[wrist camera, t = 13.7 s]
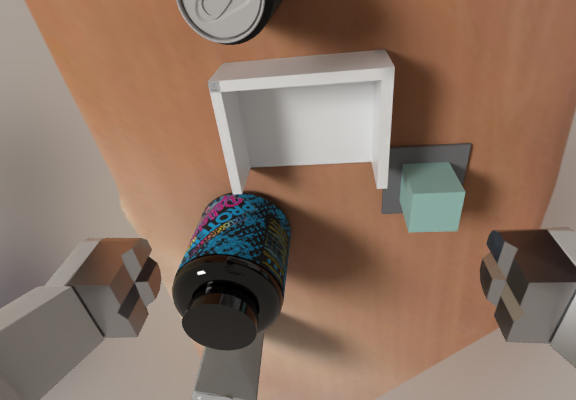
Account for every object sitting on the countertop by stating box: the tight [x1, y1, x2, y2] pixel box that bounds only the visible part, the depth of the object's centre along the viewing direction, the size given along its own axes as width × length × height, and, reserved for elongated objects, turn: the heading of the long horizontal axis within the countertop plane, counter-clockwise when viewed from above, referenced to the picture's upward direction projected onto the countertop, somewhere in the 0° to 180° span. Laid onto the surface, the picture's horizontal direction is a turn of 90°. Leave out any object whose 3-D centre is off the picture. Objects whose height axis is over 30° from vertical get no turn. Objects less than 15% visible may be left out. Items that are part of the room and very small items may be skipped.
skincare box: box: [191, 331, 264, 400], centre depth 54 cm, size 8×7×16 cm
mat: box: [382, 143, 471, 214], centre depth 43 cm, size 9×9×1 cm
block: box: [400, 162, 465, 232], centre depth 40 cm, size 5×5×6 cm
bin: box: [208, 49, 395, 195], centre depth 37 cm, size 12×16×6 cm
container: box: [172, 192, 291, 351], centre depth 43 cm, size 12×12×16 cm
